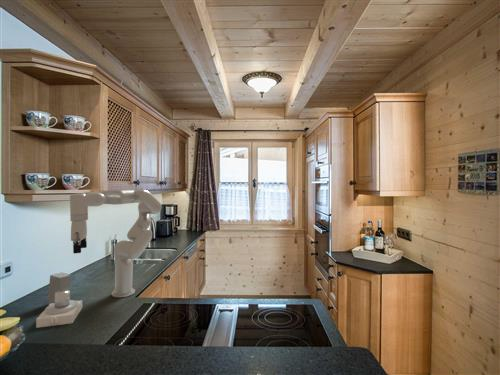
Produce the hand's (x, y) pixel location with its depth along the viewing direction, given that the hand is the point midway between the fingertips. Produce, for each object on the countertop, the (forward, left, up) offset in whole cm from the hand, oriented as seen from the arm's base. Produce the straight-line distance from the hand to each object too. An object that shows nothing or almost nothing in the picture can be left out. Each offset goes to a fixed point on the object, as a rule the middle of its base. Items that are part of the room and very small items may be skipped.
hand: (80, 250), depth 133 cm
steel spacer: (+4, -6, -26) cm, 27 cm away
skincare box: (-12, -12, -31) cm, 36 cm away
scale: (+5, -6, -31) cm, 32 cm away
